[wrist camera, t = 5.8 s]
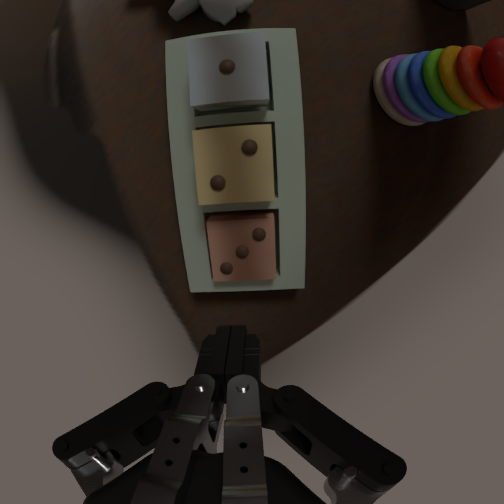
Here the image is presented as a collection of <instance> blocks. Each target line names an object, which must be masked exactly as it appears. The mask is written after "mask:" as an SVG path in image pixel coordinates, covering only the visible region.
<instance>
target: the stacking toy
mask: <svg viewBox="0 0 504 504" xmlns="http://www.w3.org/2000/svg"><path fill="white" fill-rule="evenodd" d="M373 86H374V92H375V95H376V98H377V100H378V102H379V104H380V105H381V107H382V108H383V110H384V111H385V112H386V113H387V114H388V115H389V116H390V117H391V118H392V119H394V120H395V121H397V122H399V123H401V124H404V125H408V126H418V125H422V124H424V123H426V122H430V121H440V120H443V119H449V118H452V117H455V116H456V115H465V114H468V113H469V112H471V111H478V110H481V109H482V108H486V109H496V108H498V107H500V106H501V105H502V104H503V103H504V37H499V38H494V39H492V40H490V41H489V42H488V43H487V44H486V45H485V46H484V48H483V49H482V48H480V47H478V46H474V45H468V46H465V47H460V46H448V47H446V48H445V49H442V48H440V49H435V50H432V51H422V52H419V53H414V54H401V55H397V56H395V57H392V58H388V59H386V60H384V61H383V62H381V63H380V64H379V66H378V67H377V68H376V71H375V73H374V78H373Z"/></svg>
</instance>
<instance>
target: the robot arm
mask: <svg viewBox="0 0 504 504" xmlns="http://www.w3.org/2000/svg"><path fill="white" fill-rule="evenodd" d="M435 1H436V2H438V3H439V4H441V5H443V6H444V7H447V8H449V9H452V10H459V9H464V10H468V9H471V8H473V7H476V6H478V5H480V4H483V3H486V2H488V1H491V0H435ZM224 404H227V410H226V413H227V414H226V420H225V422H224V450H223V452H222V453H217V450H216V449H217V442H218V438H219V433H220V429H221V424H222V419H223V407H224ZM262 427H263V428H267V429H271V430H275V432H276V434H277V435H278V436H279V437H281V438H282V439H283V440H284V441H285V442H286V443H287V444H288V445H289V446H290V447H292V448H293V449H294V450H295V451H296V452H297V453H298V454H300V455H301V456H302V457H303V458H304V459H305V460H307V461H308V462H309V463H310V464H311V465H313V466H314V467H315V468H316V469H318V470H319V471H320V472H321V473H323V474H324V475H325V476H326V477H327V479H326V481H325V483H324V491H325V493H326V494H327V495H328V496H329V497H330V499H331V503H332V504H373V503H374V502H375V501H376V500H377V499H378V498H380V497H381V496H382V495H383V494H385V493H386V492H387V491H389V490H390V489H391V488H392V487H393V486H395V485H396V484H397V483H398V482H399V481H401V480H402V479H403V477H404V476H405V474H406V471H407V467H406V463H405V461H404V460H403V459H402V458H401V457H399V456H398V455H396V454H394V453H393V452H391V451H390V450H388V449H386V448H385V447H383V446H382V445H380V444H379V443H377V442H376V441H374V440H373V439H371V438H370V437H368V436H367V435H365V434H363V433H362V432H360V431H359V430H358V429H356V428H355V427H353V426H352V425H350V424H349V423H347V422H346V421H345V420H343V419H342V418H341V417H339V416H338V415H336V414H335V413H334V412H332V411H331V410H329V409H328V408H327V407H325V406H324V405H323V404H321V403H320V402H319V401H317V400H316V399H314V398H313V397H312V396H311V395H309V394H308V393H307V392H305V391H304V390H303V389H301V388H300V387H298V386H294V385H287V386H283V387H281V388H279V389H278V390H277V389H273V388H269V387H267V386H265V385H264V384H263V383H262V382H261V355H260V340H259V339H258V337H257V336H256V334H247V329H246V325H232V326H231V325H218V326H217V330H216V334H215V335H208V336H207V337H206V338H205V339H204V340H203V342H202V346H201V350H200V353H199V357H198V361H197V365H196V369H195V373H194V376H192V377H190V378H189V379H188V380H187V382H186V384H185V385H182V386H178V387H173V388H168V386H167V385H166V384H164V383H162V382H152V383H149V384H148V385H146V386H144V387H143V388H141V389H140V390H138V391H136V392H135V393H133V394H132V395H130V396H128V397H127V398H125V399H124V400H122V401H120V402H119V403H117V404H115V405H114V406H112V407H110V408H109V409H107V410H105V411H104V412H102V413H100V414H99V415H97V416H95V417H93V418H92V419H90V420H88V421H87V422H85V423H83V424H81V425H80V426H78V427H76V428H75V429H72V430H71V431H69V432H67V433H65V434H63V435H62V436H60V437H58V438H57V439H56V440H55V441H54V443H53V447H52V450H53V453H54V455H55V456H56V457H57V458H58V459H59V460H60V461H62V462H63V463H64V464H65V465H66V466H67V467H68V468H69V469H70V470H71V472H72V473H73V475H74V477H75V479H76V480H77V482H78V484H79V485H80V487H81V489H82V490H83V492H84V493H85V495H86V496H87V497H86V499H85V500H84V502H83V504H326V503H325V502H324V501H322V500H321V499H320V498H319V497H318V496H317V495H316V494H314V493H313V492H312V491H311V490H310V489H309V488H308V487H307V486H305V485H304V484H303V483H302V482H301V481H300V480H299V479H298V478H297V477H296V476H295V475H294V474H293V473H292V472H291V471H290V470H289V469H288V468H286V466H284V465H283V464H281V463H280V462H278V461H276V460H274V459H272V458H269V457H266V456H264V450H263V439H262ZM153 448H155V449H154V452H153V453H152V454H150V455H148V456H147V457H145V458H144V459H142V460H141V461H139V462H138V463H137V464H135V465H134V466H132V467H131V468H129V469H128V470H127V471H125V472H123V468H124V467H126V466H128V465H129V464H131V463H132V462H134V461H136V460H137V459H139V458H140V457H142V456H143V455H145V454H146V453H148V452H149V451H150V450H152V449H153Z"/></svg>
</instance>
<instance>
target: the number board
mask: <svg viewBox="0 0 504 504" xmlns="http://www.w3.org/2000/svg"><path fill="white" fill-rule="evenodd" d="M253 32H264V33H265V45H266V58H267V71H268V84H269V103H268V106H259V107H242V108H229V109H219V110H210V111H202V112H201V111H199V110H197V109H195V108H193V107H191V106H190V91H189V68H188V40H191V39H197V38H203V37H210V36H218V35H227V34H238V33H253ZM165 44H166V89H167V109H168V124H169V137H170V149H171V160H172V170H173V179H174V188H175V196H176V204H177V212H178V219H179V226H180V233H181V239H182V246H183V252H184V258H185V264H186V270H187V276H188V281H189V287H190V292H226V291H256V290H279V289H298V288H304V285H305V244H306V192H305V152H304V128H303V110H302V95H301V82H300V70H299V59H298V49H297V39H296V30H295V28H261V29H243V30H231V31H221V32H213V33H206V34H199V35H193V36H187V37H182V38H177V39H172V40H168V41H166V42H165ZM263 124H271V132H272V150H273V171H274V194H275V201H258V202H240V203H223V204H209V205H199V202H198V192H197V182H196V172H195V161H194V150H193V137H192V131H193V130H201V129H210V128H220V127H231V126H245V125H263ZM257 209H273V214H274V224H275V257H276V279H270V280H246V281H216V282H214V280H213V273H212V265H211V257H210V249H209V241H208V233H207V224H206V221H207V220H208V218H209V217H210V215H211V214H212V212H221V211H238V210H257Z"/></svg>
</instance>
